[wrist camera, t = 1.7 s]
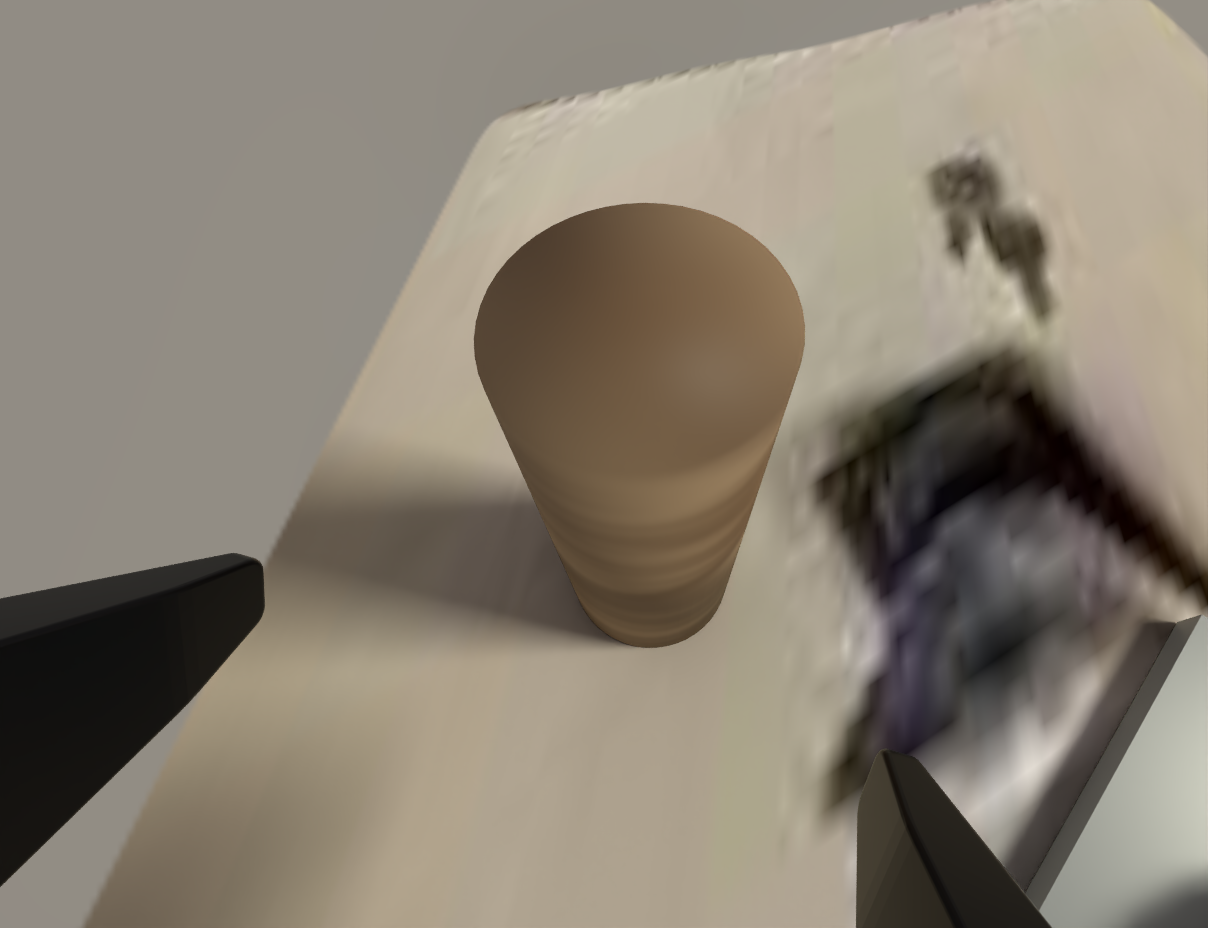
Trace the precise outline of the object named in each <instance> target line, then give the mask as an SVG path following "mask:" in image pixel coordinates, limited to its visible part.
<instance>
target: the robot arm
mask: <svg viewBox="0 0 1208 928" xmlns="http://www.w3.org/2000/svg"><path fill="white" fill-rule="evenodd" d="M264 608H265V597H264V575H263V566H262V564H261V563H260V561H258V560H257V559H255V558H251V557H248V556H245V555H241V554H237V553H230V554H225V555H220V556H214V557H209V558H204V559H199V560H195V561H189V562H184V563H179V564H174V565H169V566H164V567H158V568H153V569H149V570H144V571H138V572H133V573H128V574H123V575H118V576H113V577H108V578H102V579H97V580H92V581H87V582H82V583H77V584H72V585H67V586H62V587H57V588H52V589H47V590H41V591H36V592H31V593H26V594H22V595H16V596H11V597H6V598H1V599H0V887H1V886H2V885H3V883H5V882H6V881H7V880H8V879H9V878H10V877H11V876H12V875H13V874H14V873H15V872H16V871H17V870H18V869H19V868H20V867H21V866H22V865H23V864H24V863H25V862H26V861H27V860H28V859H30V858H31V857H32V856H33V855H34V854H35V853H36V852H37V851H38V850H39V849H40V848H41V847H42V846H43V845H44V844H45V843H46V842H47V841H48V840H49V839H50V838H51V837H52V836H53V835H54V834H55V833H56V832H57V831H58V830H59V829H60V828H61V827H62V826H63V825H64V824H65V823H66V822H68V821H69V820H70V819H71V818H72V817H73V816H74V815H75V814H76V813H77V812H78V811H79V810H80V809H81V808H82V807H83V806H84V805H85V804H86V803H87V802H88V801H89V800H90V799H91V798H92V797H93V796H94V795H95V794H96V793H97V792H98V791H99V790H100V789H101V788H102V787H103V786H104V785H106V783H108V782H109V781H110V780H111V779H112V777H114V776H115V775H116V774H117V773H118V772H119V771H120V770H121V769H122V768H123V767H124V766H125V765H126V764H127V763H128V762H129V761H130V760H131V759H132V758H133V757H134V756H135V755H136V754H137V753H138V752H139V751H140V750H141V749H143V748H144V746H146V745H147V744H148V743H149V742H150V741H151V740H152V739H153V738H154V737H155V736H156V735H157V734H158V733H159V732H160V731H161V730H162V729H163V728H164V727H165V726H166V725H167V724H168V723H169V722H170V721H171V720H172V719H173V718H174V717H175V716H176V715H177V714H178V713H179V712H180V711H181V710H182V709H183V708H184V707H185V706H186V705H187V704H188V703H189V702H190V701H191V700H192V699H193V698H194V696H195V695H196V694H197V693H198V692H199V691H200V690H201V689H202V688H203V686H204V685H205V684H206V683H207V682H208V681H209V679H210V678H211V677H212V676H213V675H214V674H215V672H216V671H217V670H218V669H219V668H220V667H221V665H222V664H223V663H224V662H225V661H226V660H227V659H228V657H229V656H230V655H231V654H232V653H233V652H234V650H235V649H236V648H237V647H238V646H239V645H240V643H241V642H242V641H243V640H244V639H245V638H246V636H247V635H248V634H249V633H250V632H251V631H252V629H253V628H254V627H255V626H256V625H257V624H258V622H259V621H260V619H261V617H262V615H263V612H264ZM856 928H1052V926H1051V925H1050V924H1049V923H1048V921H1047V920H1046V919H1045V918H1044V916H1043V915H1042V914H1041V913H1040V911H1039V910H1038V909H1037V908H1036V906H1035V905H1034V904H1033V903H1032V901H1031V900H1030V899H1029V898H1028V896H1027V895H1026V894H1025V893H1024V891H1023V890H1022V889H1021V888H1020V886H1019V885H1018V884H1017V883H1016V881H1015V880H1014V879H1013V878H1012V876H1011V875H1010V874H1009V873H1008V871H1007V870H1006V869H1005V868H1004V866H1003V865H1002V864H1001V863H1000V861H999V860H998V859H997V858H996V856H995V855H994V854H993V853H992V851H991V850H990V849H989V848H988V846H987V845H986V844H985V843H984V841H983V840H982V839H981V838H980V836H979V835H978V834H977V833H976V831H975V830H974V829H973V828H972V826H971V825H970V824H969V823H968V821H967V820H966V819H965V818H964V816H963V815H962V814H961V813H960V811H959V810H958V809H957V808H956V806H955V805H954V804H953V803H952V802H951V800H950V799H949V798H948V797H947V795H946V794H945V793H944V792H943V790H942V789H941V788H940V787H939V785H938V784H937V783H936V782H935V780H934V779H933V778H932V777H931V775H930V774H929V773H928V772H927V770H926V769H925V768H924V767H923V765H922V764H921V763H920V762H919V761H918V760H917V759H916V758H915V757H912V756H910V755H906V754H903V753H900V752H896V751H893V750H890V749H882V750H880V751H879V753H878V754H877V756H876V758H875V760H874V763H873V765H872V768H871V771H870V773H869V776H868V778H867V781H866V783H865V786H864V788H863V791H862V794H861V797H860V800H859V806H858V814H857V891H856Z"/></svg>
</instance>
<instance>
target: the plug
mask: <svg viewBox="0 0 1208 928" xmlns="http://www.w3.org/2000/svg"><path fill="white" fill-rule="evenodd" d="M804 345H805V323H804V316H803V310H802V306H801V303H800V299H799V296H798V293H797V291H796V289H795V286H794V284H793V282H792V280H791V278H790V276H789V275H788V273H787V272H786V270H785V269H784V268H783V266H782V265H781V263H780V262H779V261H778V259H777V258H776V257H775V256H774V255H773V254H772V253H771V252H770V251H769V250H768V249H767V248H766V247H765V246H764V245H763V244H762V243H760V242H759V241H758V240H757V239H755V238H754V237H753V236H752V235H750V234H749V233H747V232H745V231H744V230H742V229H741V228H739V227H738V226H736V225H734V224H732V223H730V222H728V221H726V220H724V219H722V218H719V217H717V216H714V215H711V214H708V213H706V212H703V211H699V210H695V209H691V208H687V207H683V206H676V205H668V204H656V203H635V204H622V205H615V206H609V207H603V208H599V209H595V210H591V211H587V212H585V213H582V214H579V215H576V216H573V217H570V218H568V219H566V220H564V221H562V222H560V223H557V224H555V225H553V226H551V227H550V228H548V229H546V230H545V231H543V232H541V233H540V234H538V235H536V236H535V237H534V238H532V239H531V240H530V241H528V242H527V243H526V244H525V245H523V246H522V247H521V248H520V249H519V250H518V251H517V252H516V253H515V254H514V255H513V256H511V257H510V258H509V259H508V261H507V262H506V263H505V264H504V265H503V267H502V268H501V269H500V270H499V272H498V273H497V274H496V276H495V278H494V279H493V281H492V282H491V284H490V286H489V287H488V289H487V291H486V294H485V296H484V298H483V300H482V303H481V305H480V309H479V312H478V316H477V320H476V326H475V334H474V352H475V360H476V365H477V370H478V374H479V377H480V379H481V382H482V385H483V387H484V390H485V392H486V395H487V397H488V399H489V401H490V403H491V406H492V408H493V410H494V412H495V415H496V417H497V419H498V421H499V423H500V426H501V428H502V430H503V432H504V434H505V437H506V439H507V441H508V443H509V446H510V448H511V450H512V452H513V454H514V457H515V459H516V461H517V463H518V466H519V468H520V470H521V472H522V474H523V477H524V479H525V481H526V483H527V486H528V488H529V490H530V492H531V494H532V497H533V499H534V501H535V503H536V506H537V508H538V510H539V512H540V514H541V517H542V519H543V521H544V523H545V525H546V528H547V530H548V532H549V534H550V537H551V539H552V541H553V543H554V545H555V548H556V550H557V552H558V554H559V557H560V559H561V561H562V563H563V565H564V568H565V570H566V572H567V574H568V577H569V579H570V581H571V583H572V585H573V588H574V590H575V592H576V594H577V597H578V599H579V601H580V603H581V605H582V607H583V609H584V611H585V612H586V614H587V615H588V616H589V618H590V619H591V620H592V622H593V623H594V624H595V625H596V626H597V627H598V628H599V629H601V630H602V631H603V632H605V633H606V634H607V635H609V636H611V637H612V638H614V639H616V640H618V641H621V642H623V643H625V644H629V645H633V646H638V647H645V648H657V647H664V646H669V645H672V644H676V643H679V642H681V641H683V640H686V639H688V638H689V637H691V636H693V635H694V634H696V633H697V632H698V631H699V630H701V629H702V628H703V627H704V626H705V625H706V624H707V623H708V622H709V621H710V620H711V618H712V617H713V615H714V614H715V613H716V611H717V609H718V607H719V605H720V603H721V601H722V598H723V595H724V592H725V589H726V586H727V583H728V580H729V577H730V574H731V571H732V568H733V565H734V562H735V559H736V556H737V553H738V550H739V547H740V544H741V541H742V538H743V535H744V532H745V529H746V526H747V523H748V520H749V517H750V514H751V511H752V508H753V505H754V502H755V499H756V496H757V493H758V490H759V487H760V484H761V481H762V478H763V475H764V472H765V469H766V466H767V463H768V460H769V457H770V454H771V451H772V448H773V445H774V442H775V439H776V437H777V434H778V431H779V428H780V425H781V422H782V419H783V416H784V413H785V410H786V407H787V404H788V401H789V398H790V395H791V392H792V389H793V386H794V383H795V380H796V377H797V374H798V371H799V368H800V365H801V361H802V356H803V350H804Z"/></svg>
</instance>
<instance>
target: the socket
mask: <svg viewBox="0 0 1208 928" xmlns="http://www.w3.org/2000/svg"><path fill="white" fill-rule="evenodd" d="M1025 894H1026V895H1027V896H1028V898H1029V899H1030V900H1031V901H1032V903H1033V904H1034V905H1035V906H1036V908H1037V909H1038V910H1039V911H1040V913H1041V914H1042V915H1043V916H1044V918H1045V919H1046V920H1047V921H1048V923H1049V924H1050V925H1051V926H1052V928H1208V618H1207V617H1205V616H1203V615H1199V616H1196V617H1193V618H1189V619H1186V620H1183V621H1180V622H1177V624H1176V625H1175V627H1174V629H1173V631H1172V633H1171V634H1170V636H1169V638H1168V640H1167V641H1166V643H1165V645H1164V647H1163V649H1162V650H1161V652H1160V654H1159V656H1158V657H1157V659H1156V661H1155V663H1154V665H1153V666H1152V668H1151V670H1150V672H1149V674H1148V675H1147V677H1146V679H1145V681H1144V682H1143V684H1142V686H1141V688H1140V690H1139V691H1138V693H1137V695H1136V697H1135V698H1134V700H1133V702H1132V704H1131V706H1130V707H1129V709H1128V711H1127V713H1126V714H1125V716H1124V718H1123V720H1122V722H1121V723H1120V725H1119V727H1118V729H1117V731H1116V732H1115V734H1114V736H1113V738H1112V739H1111V741H1110V743H1109V745H1108V747H1107V748H1106V750H1105V752H1104V754H1103V755H1102V757H1101V759H1100V761H1099V763H1098V764H1097V766H1096V768H1095V770H1094V772H1093V773H1092V775H1091V777H1090V779H1089V780H1088V782H1087V784H1086V786H1085V788H1084V789H1083V791H1082V793H1081V795H1080V796H1079V798H1078V800H1077V802H1076V804H1075V805H1074V807H1073V809H1072V811H1071V812H1070V814H1069V816H1068V818H1067V820H1066V821H1065V823H1064V825H1063V827H1062V829H1061V830H1060V832H1059V834H1058V836H1057V837H1056V839H1055V841H1054V843H1053V845H1052V846H1051V848H1050V850H1049V852H1048V853H1047V855H1046V857H1045V859H1044V861H1043V862H1042V864H1041V866H1040V868H1039V870H1038V871H1037V873H1036V875H1035V877H1034V878H1033V880H1032V882H1031V884H1030V886H1029V887H1028V889H1027V891H1026V893H1025Z"/></svg>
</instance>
